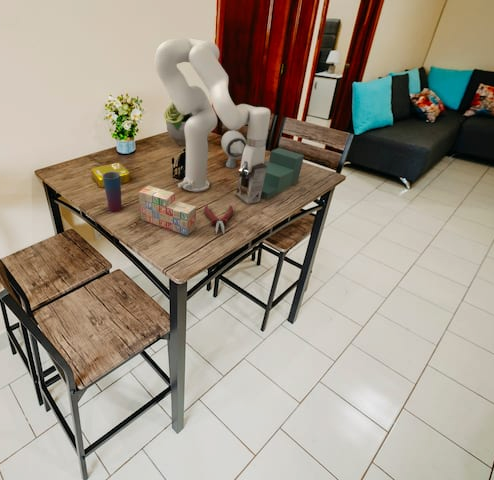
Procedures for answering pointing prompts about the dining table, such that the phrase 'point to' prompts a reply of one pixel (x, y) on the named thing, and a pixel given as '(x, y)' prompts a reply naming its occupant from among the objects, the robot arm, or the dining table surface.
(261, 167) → the coffee box
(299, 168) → the step shelf
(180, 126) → the potted succulent plant
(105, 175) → the cup
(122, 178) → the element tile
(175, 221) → the stack of blocks
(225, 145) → the white rounded piece
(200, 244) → the dining table surface
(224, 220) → the pliers
